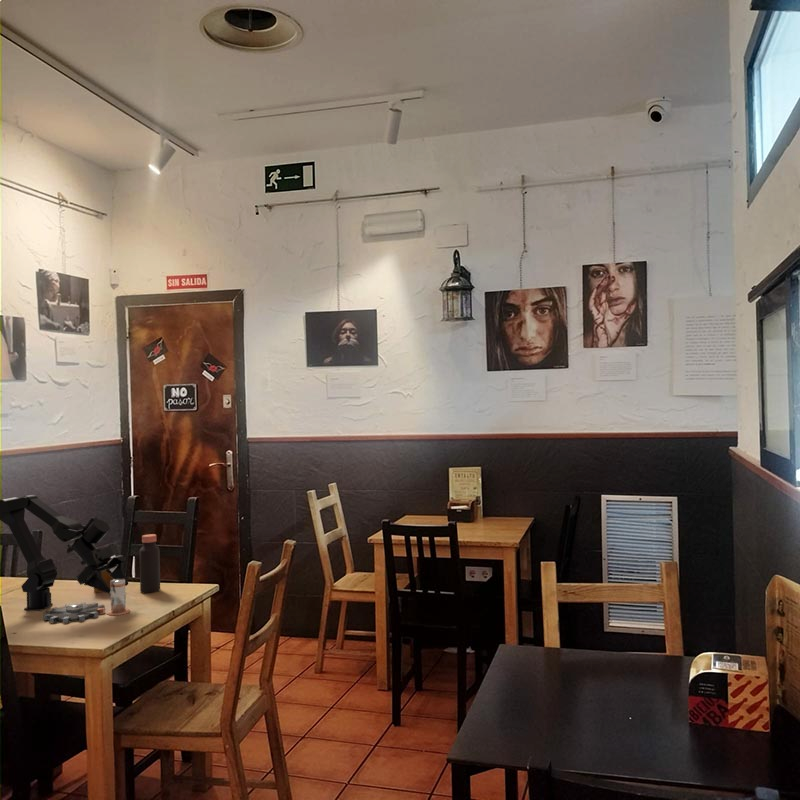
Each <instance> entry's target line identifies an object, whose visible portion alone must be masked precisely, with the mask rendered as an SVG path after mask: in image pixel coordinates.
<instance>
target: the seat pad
mask: <svg viewBox="0 0 800 800" xmlns="http://www.w3.org/2000/svg"><path fill="white" fill-rule="evenodd" d="M128 612H129V613H130V612H131V609H130V608H126V611H125V612H122V613H111V609H110V610H108V611H107V612H106V614H107V615H108V616H112V615H115V616H122V614H123V615H125V614H126V613H127V614H129V613H128Z"/></svg>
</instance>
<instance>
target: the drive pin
mask: <svg viewBox="0 0 800 800" xmlns="http://www.w3.org/2000/svg"><path fill="white" fill-rule="evenodd" d="M110 586H111V592H110V610H111V613H122V612H125V611H126V605H127V604H126V598H127V597H126V586H125V579H114V580H111V583H110Z"/></svg>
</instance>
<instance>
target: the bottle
mask: <svg viewBox="0 0 800 800" xmlns="http://www.w3.org/2000/svg"><path fill="white" fill-rule="evenodd" d="M141 542H142V547H141V548H140V549H139V583H140V584H139V585H140V586H139V589H140V592H141V593H143V594H153V593H157V592H160V590H161V563H160V561H161V560H160V559H161V558H160V557H161V555H160V553H161V552H160V551H161V550H160V547H158V545H157V544H156V543H157V534H155V533H152V534H151V533H150V534H144V535H141Z"/></svg>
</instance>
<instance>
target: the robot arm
mask: <svg viewBox="0 0 800 800" xmlns="http://www.w3.org/2000/svg"><path fill="white" fill-rule="evenodd" d="M26 510H27V511H28V512H30V513H31V514H32V515H34V516H35V517H37V519H39V520H41V522H43V523H45V524H46V525H47V526H49V527H50V528H51V530H52V534H53V535H54V536H55V537H56V538H57V539H58V540H59V541H61V542H62V543H66V542H70V541H72V543H69V544H67V549H66V553H67V554H70V553H73V552H74V553H75V554H76V555H77V556H78V558H79V559H80V560H81V562H80V565H82V566H84V565H85V567H84V568H83V569H82V570H81V571H80V573H79V574H78V575H76V580H77V582H78V584H79V585H80V586H81V585H84V586H88V587H91V588H93V589H94V588H96V589H99V590H101V591H104V592H103V593H107V594H111V590H110V588H109V587H108V585H107V584H106V583H105V581H104V580H103V578H102V577H101V572H103V571H107V572H108V573H110V576H111V577H113V578H114V579H125V587H127V586H129V581H128V578H127V576H126V573H125V570H124V569H125V565H126V562H127V558H126V556H124V555H119V554H120V553H121V552H120V551H121V548H122V547H121V545H119V544H118V543H117V542H116V541H114V542H112V543H110V544H109V545H108V546H107V547H105V548H102V547H99V548H98V547H96V545H95V544H99V543H100V542H101V540H103V538H104V537H105V536H106V535H107V533H108V532H110V526H109V524H108V523H107V522H105V521H104V520H102V519H100V518H99V519H98V517H97V516H96V517H91V518H90V519H89V521H88V523H87V524H86V525H83V524H82V523H81V522H79V521H77V520H75V519H74V518H71V517H66V516H63V515H62V514H61V513H59V512H57V511H56V510H55V509H53V508H52V507H50V506H49V505H48V504H47V503H45V502H44V501H42V500H41V499H39V497H38V496H37V495H36V494H30V495H25V496H24V495H23V496H22V497H9V498H3V499H0V521H1V522H2V524H3V523H4V524H5V525H6V526H8V528H9V530H10V532H11V534H12V536H13V538H14V540H15V541H16V544H17V546H18V547H19V550H20V552H21V554H22V556H23V557H24V559H25V562H26V564H27V565H26V576H27V579H26V580H25V581H24V582H23V583H22V584H21V589H22V592H23V593H26V607H24V609H23V610H24V611H44V610H45V609H47V608H49V607H51V606H52V605H53V603H52V592H51V591H50V587H51V588H52V587H54V584H55V581H56V579H57V576H58V571H57V569H58V567H57V566H55V563H54V560H53V559H52V558H46V557H44V556H43V554H42V553H41V551H40V548H39V546H38V544H37V543H36V541H35V539H34V538H35V537H33V534H32V532H31V530H30V528H29V526H28V525H27V522H26V520H25V514H26ZM73 540H74V541H73ZM114 555H115V556H116V555H117V556H116V557H114V558H113V559H112V558H111V557H112V556H114ZM111 559H112V560H111ZM110 560H111V561H110ZM108 561H110V562H109V563H108Z"/></svg>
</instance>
